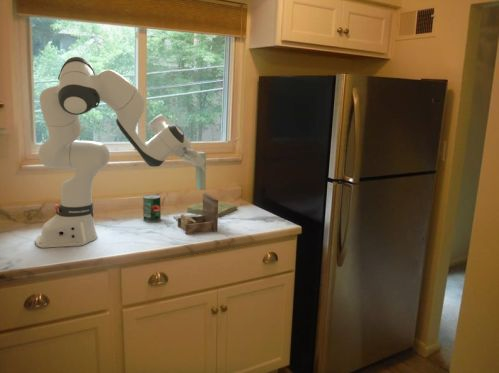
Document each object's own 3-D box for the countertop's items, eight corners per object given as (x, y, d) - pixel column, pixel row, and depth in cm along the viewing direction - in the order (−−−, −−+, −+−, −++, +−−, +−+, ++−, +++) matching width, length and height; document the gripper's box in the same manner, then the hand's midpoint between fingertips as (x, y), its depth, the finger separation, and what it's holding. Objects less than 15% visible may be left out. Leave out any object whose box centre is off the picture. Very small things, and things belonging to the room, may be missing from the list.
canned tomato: (145, 216, 207) (145, 194, 205) (161, 217, 207) (161, 194, 205) (141, 221, 199) (141, 198, 197) (159, 221, 199) (159, 198, 197)
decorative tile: (237, 210, 226) (237, 203, 226) (216, 219, 209) (216, 212, 208) (207, 205, 235) (207, 198, 234) (185, 213, 218) (185, 206, 217)
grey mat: (181, 224, 196) (181, 223, 196) (173, 217, 207) (173, 216, 207) (206, 222, 202) (206, 220, 202) (197, 215, 212) (197, 214, 212)
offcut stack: (186, 233, 185) (187, 219, 184) (180, 227, 192) (180, 214, 191) (196, 231, 187) (196, 218, 186) (189, 226, 194) (190, 213, 193)
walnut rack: (187, 235, 182) (187, 202, 179) (176, 225, 194) (176, 195, 191) (217, 231, 188) (218, 200, 185) (205, 222, 200) (206, 193, 198)
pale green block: (199, 190, 186) (200, 153, 183) (195, 188, 190) (196, 151, 187) (205, 189, 187) (206, 153, 184) (201, 187, 192) (201, 151, 188)
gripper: (194, 144, 172) (216, 167, 179) (177, 138, 190) (198, 160, 197) (183, 155, 171) (206, 178, 178) (168, 149, 189) (189, 170, 195)
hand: (202, 168), depth 187 cm, fingers closed on pale green block, 5 cm apart
